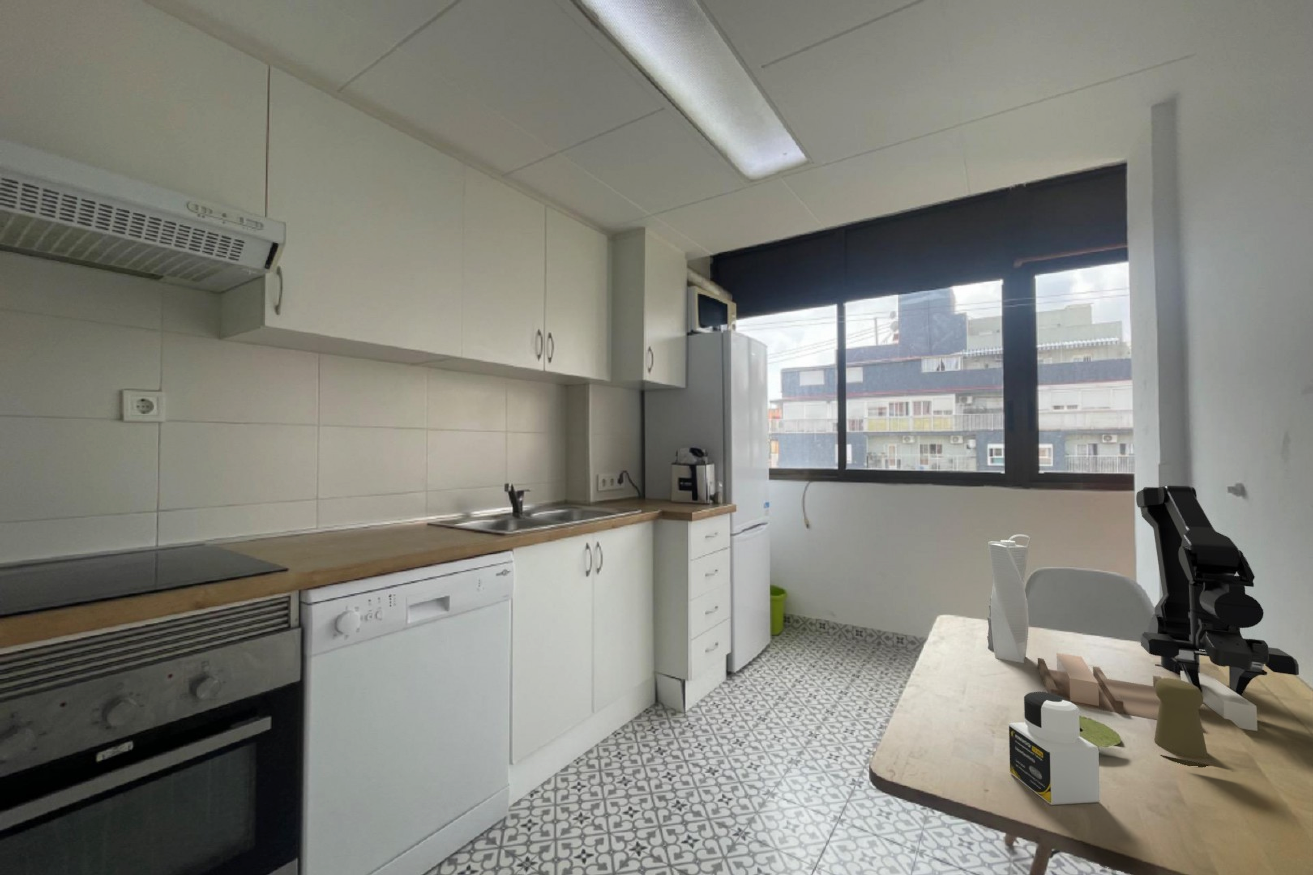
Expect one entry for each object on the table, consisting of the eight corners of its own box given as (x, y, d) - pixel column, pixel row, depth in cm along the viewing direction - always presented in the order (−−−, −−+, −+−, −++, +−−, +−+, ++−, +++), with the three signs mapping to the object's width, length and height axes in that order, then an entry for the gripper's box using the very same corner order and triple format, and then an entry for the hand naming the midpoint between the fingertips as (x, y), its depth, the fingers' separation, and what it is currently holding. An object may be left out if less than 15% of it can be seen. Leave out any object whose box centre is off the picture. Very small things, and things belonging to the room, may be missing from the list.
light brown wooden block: (1057, 672, 107) (1056, 652, 107) (1082, 677, 105) (1081, 656, 105) (1070, 700, 95) (1069, 677, 95) (1098, 705, 93) (1098, 682, 93)
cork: (1221, 769, 76) (1218, 691, 76) (1172, 764, 77) (1169, 688, 77) (1188, 747, 82) (1185, 675, 82) (1143, 742, 83) (1140, 671, 83)
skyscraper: (1032, 659, 117) (1029, 532, 118) (1034, 672, 110) (1031, 537, 111) (987, 652, 121) (984, 530, 122) (987, 663, 114) (984, 534, 116)
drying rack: (1038, 673, 110) (1037, 657, 110) (1160, 693, 100) (1160, 676, 100) (1051, 706, 95) (1050, 688, 95) (1196, 734, 85) (1195, 714, 86)
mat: (1015, 729, 87) (1015, 717, 87) (1057, 716, 91) (1057, 704, 91) (1094, 765, 77) (1094, 752, 77) (1137, 749, 81) (1137, 736, 81)
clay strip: (1181, 691, 101) (1180, 670, 101) (1208, 695, 100) (1208, 674, 100) (1224, 726, 88) (1223, 701, 88) (1257, 730, 87) (1256, 706, 87)
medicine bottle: (1008, 773, 75) (1006, 687, 75) (1055, 770, 75) (1053, 685, 76) (1050, 806, 68) (1047, 711, 68) (1101, 803, 68) (1098, 709, 69)
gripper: (1158, 616, 92) (1161, 707, 92) (1316, 633, 83) (1321, 735, 82) (1138, 601, 102) (1141, 683, 101) (1278, 615, 93) (1282, 705, 92)
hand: (1215, 700), depth 94 cm, fingers closed on clay strip, 4 cm apart
